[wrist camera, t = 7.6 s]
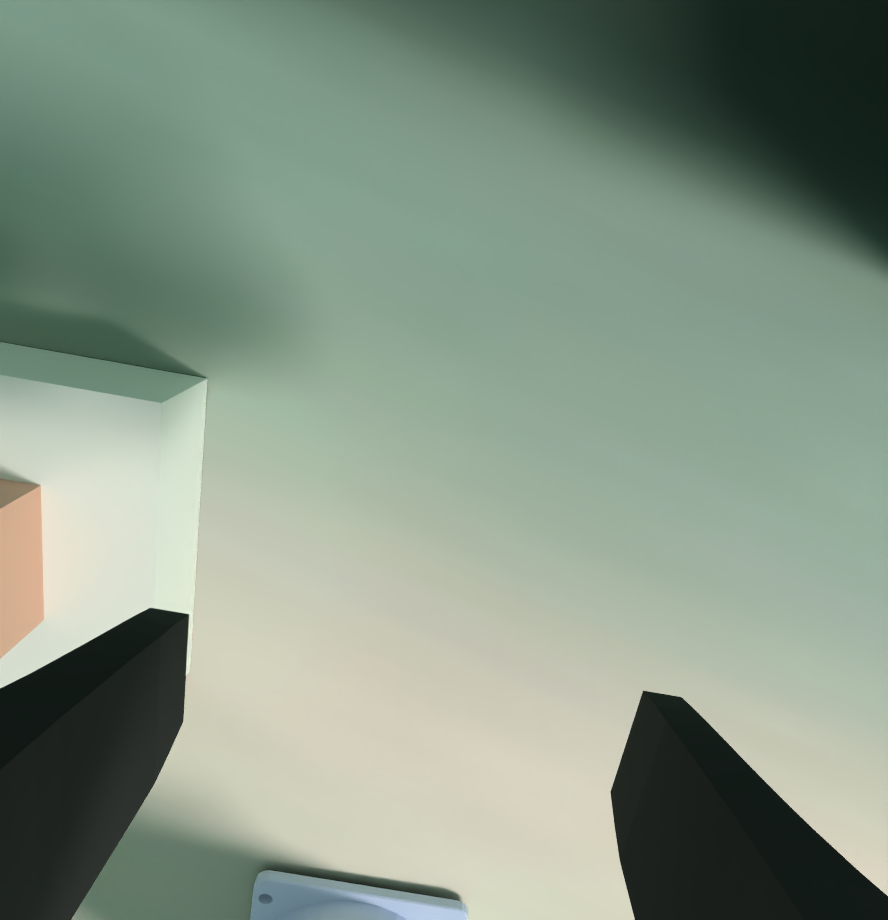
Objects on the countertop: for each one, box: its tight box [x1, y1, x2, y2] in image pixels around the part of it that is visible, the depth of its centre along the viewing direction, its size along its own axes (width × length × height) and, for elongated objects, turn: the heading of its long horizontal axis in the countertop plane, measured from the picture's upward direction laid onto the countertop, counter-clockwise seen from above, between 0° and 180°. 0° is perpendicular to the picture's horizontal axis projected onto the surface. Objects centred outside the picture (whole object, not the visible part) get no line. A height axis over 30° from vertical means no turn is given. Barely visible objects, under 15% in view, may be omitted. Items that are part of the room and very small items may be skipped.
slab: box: [0, 342, 207, 688], centre depth 19 cm, size 10×10×3 cm
